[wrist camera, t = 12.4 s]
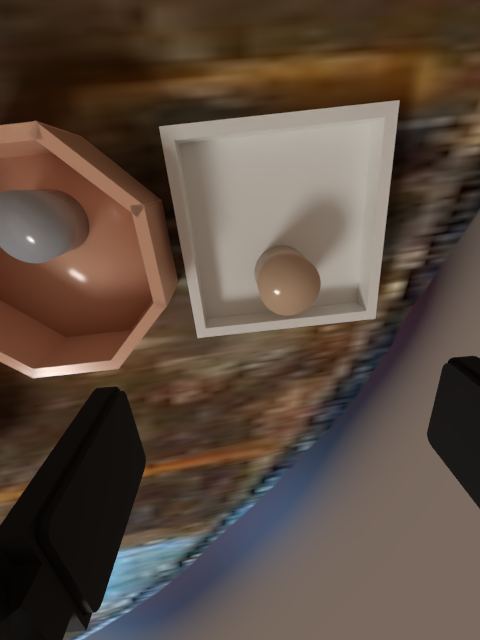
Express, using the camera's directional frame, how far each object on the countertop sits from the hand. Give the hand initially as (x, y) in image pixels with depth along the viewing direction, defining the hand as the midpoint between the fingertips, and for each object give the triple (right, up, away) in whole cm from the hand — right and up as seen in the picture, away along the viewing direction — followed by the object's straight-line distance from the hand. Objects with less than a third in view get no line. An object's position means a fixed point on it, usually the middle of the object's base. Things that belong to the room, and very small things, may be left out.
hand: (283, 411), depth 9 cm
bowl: (-15, +8, +15) cm, 22 cm away
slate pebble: (-15, +10, +13) cm, 22 cm away
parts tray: (+2, +10, +15) cm, 18 cm away
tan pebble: (+2, +7, +16) cm, 17 cm away
